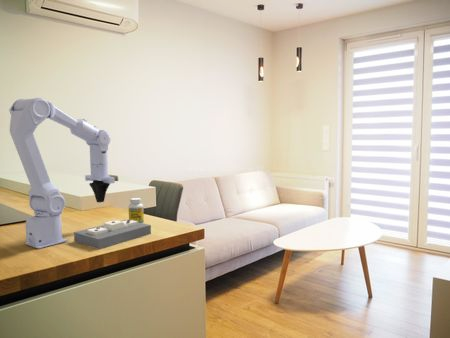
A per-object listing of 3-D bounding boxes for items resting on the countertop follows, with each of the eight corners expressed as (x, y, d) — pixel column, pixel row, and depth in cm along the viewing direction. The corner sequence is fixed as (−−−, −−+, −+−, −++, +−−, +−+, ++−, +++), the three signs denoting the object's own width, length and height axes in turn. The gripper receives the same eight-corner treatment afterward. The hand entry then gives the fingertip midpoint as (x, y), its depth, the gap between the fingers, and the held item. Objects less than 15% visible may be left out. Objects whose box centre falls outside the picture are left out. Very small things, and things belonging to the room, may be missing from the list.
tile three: (127, 232, 117) (127, 223, 117) (119, 230, 120) (118, 221, 120) (138, 230, 121) (137, 220, 121) (129, 228, 123) (129, 219, 123)
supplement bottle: (143, 221, 136) (143, 197, 136) (143, 225, 131) (143, 199, 130) (129, 222, 135) (128, 197, 134) (128, 226, 130) (127, 200, 129)
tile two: (95, 241, 108) (95, 231, 107) (87, 239, 110) (86, 229, 110) (108, 238, 111) (107, 228, 111) (99, 236, 114) (99, 226, 113)
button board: (99, 249, 104) (98, 239, 104) (74, 241, 111) (73, 232, 111) (150, 233, 120) (150, 225, 120) (126, 227, 128) (125, 219, 127)
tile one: (112, 234, 112) (111, 224, 112) (103, 231, 115) (103, 222, 115) (123, 231, 116) (123, 221, 116) (115, 229, 119) (114, 219, 118)
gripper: (121, 164, 125) (122, 202, 126) (96, 162, 133) (97, 198, 134) (104, 165, 119) (105, 205, 120) (79, 163, 127) (80, 201, 129)
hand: (100, 202), depth 127 cm, fingers closed
